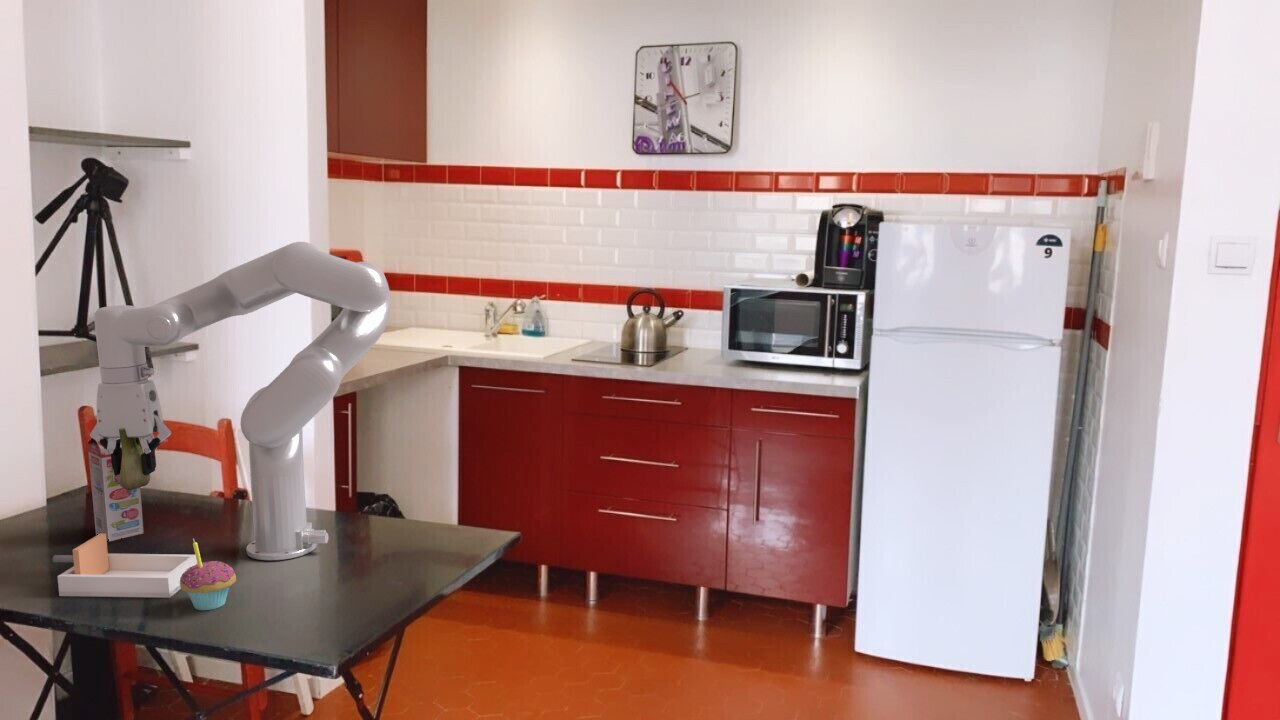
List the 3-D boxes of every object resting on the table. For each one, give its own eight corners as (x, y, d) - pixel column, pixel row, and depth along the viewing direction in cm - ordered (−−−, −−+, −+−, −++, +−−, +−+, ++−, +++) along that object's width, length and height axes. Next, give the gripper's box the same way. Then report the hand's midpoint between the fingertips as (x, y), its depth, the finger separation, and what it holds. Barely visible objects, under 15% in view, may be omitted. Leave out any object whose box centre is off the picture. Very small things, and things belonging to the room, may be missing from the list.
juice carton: (96, 533, 203) (86, 426, 200) (130, 525, 208) (121, 420, 204) (108, 541, 199) (98, 431, 195) (143, 533, 204) (134, 426, 200)
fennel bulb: (142, 481, 190) (136, 419, 188) (159, 485, 187) (152, 421, 185) (113, 490, 185) (106, 425, 183) (130, 493, 182) (122, 428, 180)
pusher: (109, 568, 181) (105, 533, 180) (81, 587, 173) (78, 550, 172) (70, 568, 182) (67, 532, 180) (41, 586, 173) (37, 549, 172)
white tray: (200, 573, 182) (198, 554, 182) (169, 597, 171) (168, 577, 171) (96, 571, 183) (94, 553, 182) (59, 595, 172) (57, 576, 171)
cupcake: (202, 619, 163) (197, 547, 161) (170, 607, 167) (164, 537, 165) (248, 601, 170) (243, 532, 168) (216, 590, 174) (211, 523, 172)
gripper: (180, 370, 186) (190, 467, 189) (90, 371, 186) (101, 467, 189) (160, 378, 178) (170, 478, 181) (65, 379, 179) (77, 479, 182)
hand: (134, 472), depth 185 cm, fingers closed on fennel bulb, 4 cm apart
